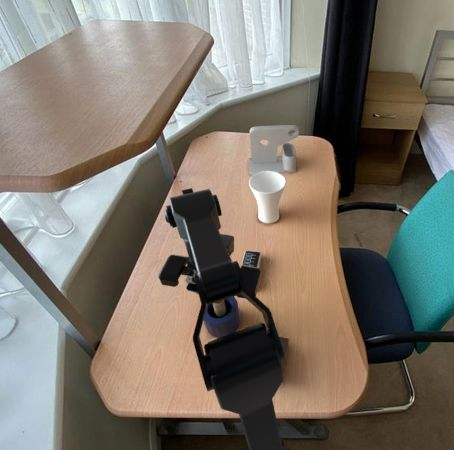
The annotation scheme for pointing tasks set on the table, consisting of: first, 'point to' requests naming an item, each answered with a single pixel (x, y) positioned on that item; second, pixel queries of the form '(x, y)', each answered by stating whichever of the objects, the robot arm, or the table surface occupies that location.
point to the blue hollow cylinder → (222, 319)
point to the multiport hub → (252, 258)
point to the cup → (268, 194)
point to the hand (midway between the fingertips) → (217, 299)
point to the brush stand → (284, 350)
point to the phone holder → (272, 149)
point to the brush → (219, 308)
